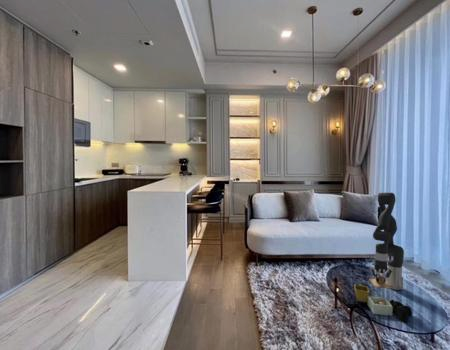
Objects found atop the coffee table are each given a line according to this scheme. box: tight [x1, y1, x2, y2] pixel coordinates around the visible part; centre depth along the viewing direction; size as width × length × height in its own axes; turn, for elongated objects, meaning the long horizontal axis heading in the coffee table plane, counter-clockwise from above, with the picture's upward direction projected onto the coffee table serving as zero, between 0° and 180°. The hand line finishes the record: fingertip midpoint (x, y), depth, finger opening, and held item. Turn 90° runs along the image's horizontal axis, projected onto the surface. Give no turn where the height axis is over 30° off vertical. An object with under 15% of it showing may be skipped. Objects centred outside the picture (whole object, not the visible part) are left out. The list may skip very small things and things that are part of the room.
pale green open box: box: [367, 295, 393, 316], centre depth 166 cm, size 11×11×6 cm
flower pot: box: [353, 284, 370, 303], centre depth 179 cm, size 9×9×9 cm
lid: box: [368, 274, 393, 290], centre depth 179 cm, size 12×12×7 cm
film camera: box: [389, 299, 413, 324], centre depth 159 cm, size 15×10×9 cm, turn 177°
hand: (380, 282), depth 179 cm, fingers closed on lid, 3 cm apart
